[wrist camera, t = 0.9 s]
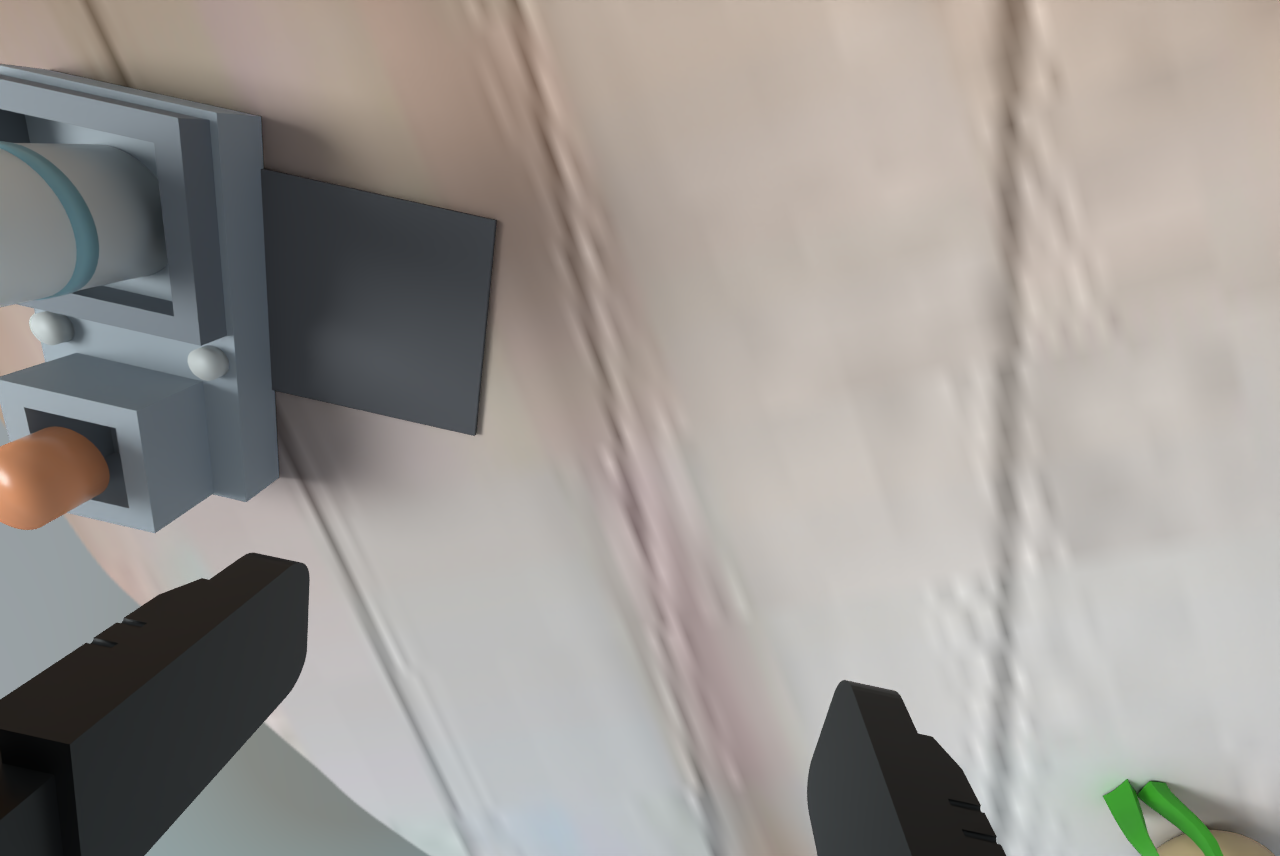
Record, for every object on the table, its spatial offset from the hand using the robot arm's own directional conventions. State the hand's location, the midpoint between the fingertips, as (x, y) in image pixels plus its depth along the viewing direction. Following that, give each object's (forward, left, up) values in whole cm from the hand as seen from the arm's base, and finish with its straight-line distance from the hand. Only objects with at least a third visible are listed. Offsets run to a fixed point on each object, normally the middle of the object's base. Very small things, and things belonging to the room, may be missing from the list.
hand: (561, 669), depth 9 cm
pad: (+2, -13, -20) cm, 23 cm away
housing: (+3, -22, -20) cm, 30 cm away
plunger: (+9, -22, -13) cm, 27 cm away
